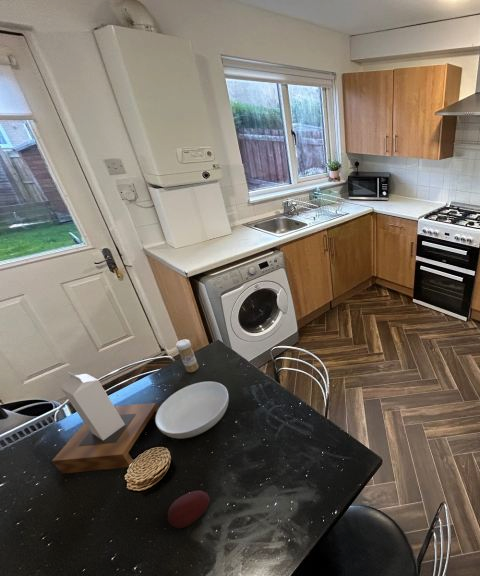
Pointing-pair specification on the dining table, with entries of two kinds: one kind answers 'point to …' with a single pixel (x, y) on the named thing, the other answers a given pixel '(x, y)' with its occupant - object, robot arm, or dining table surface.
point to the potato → (188, 509)
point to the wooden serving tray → (105, 442)
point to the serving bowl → (192, 410)
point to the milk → (92, 405)
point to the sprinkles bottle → (187, 355)
